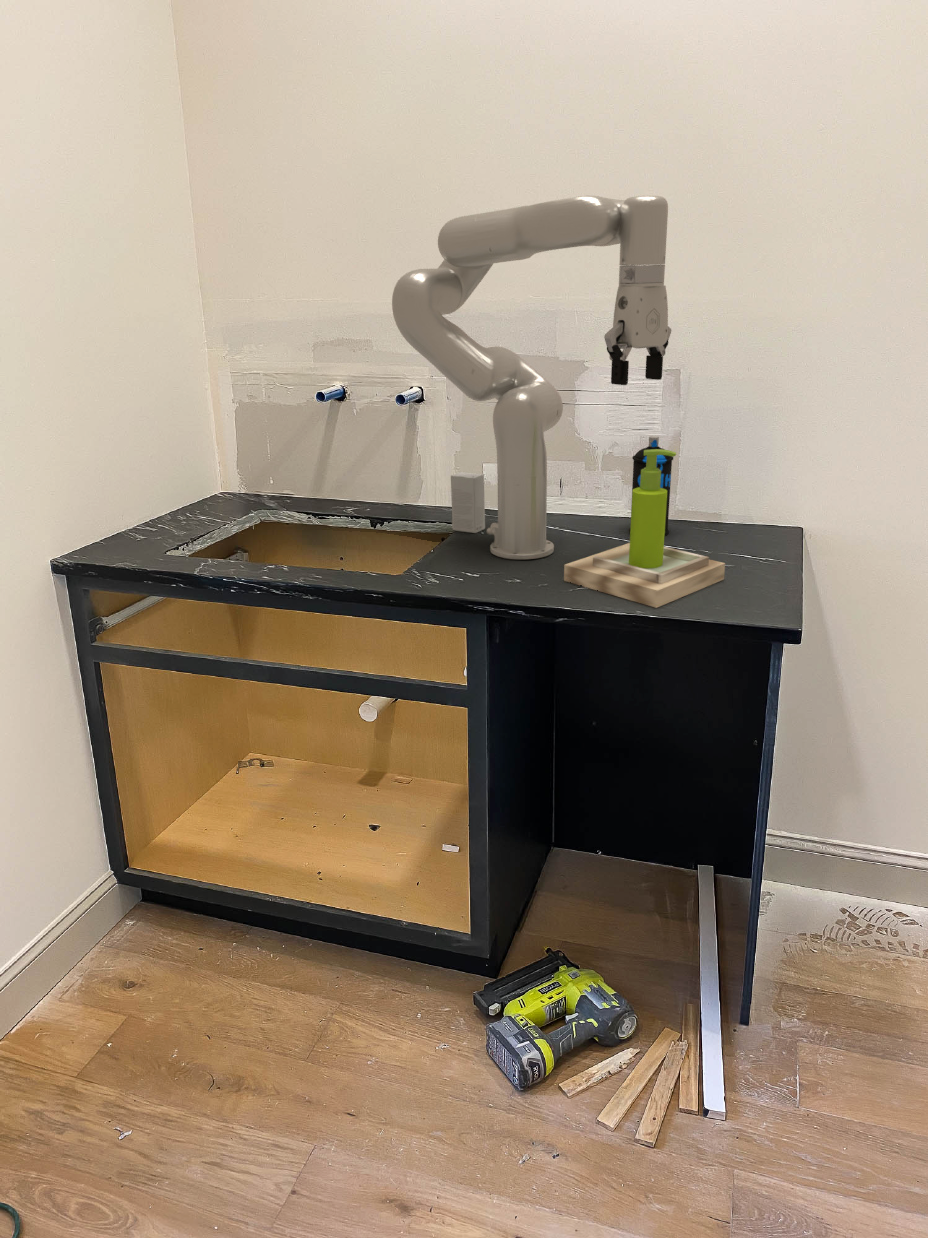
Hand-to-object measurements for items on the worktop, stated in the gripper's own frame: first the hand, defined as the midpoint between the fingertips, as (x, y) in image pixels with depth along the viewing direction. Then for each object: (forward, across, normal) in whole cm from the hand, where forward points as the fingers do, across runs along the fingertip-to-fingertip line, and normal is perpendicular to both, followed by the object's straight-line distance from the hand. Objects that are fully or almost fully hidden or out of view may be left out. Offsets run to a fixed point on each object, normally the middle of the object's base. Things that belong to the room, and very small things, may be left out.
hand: (636, 381), depth 158 cm
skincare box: (+34, -4, +39) cm, 52 cm away
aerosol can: (+34, +20, +10) cm, 40 cm away
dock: (+33, -6, -8) cm, 35 cm away
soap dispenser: (+30, -6, -9) cm, 32 cm away
